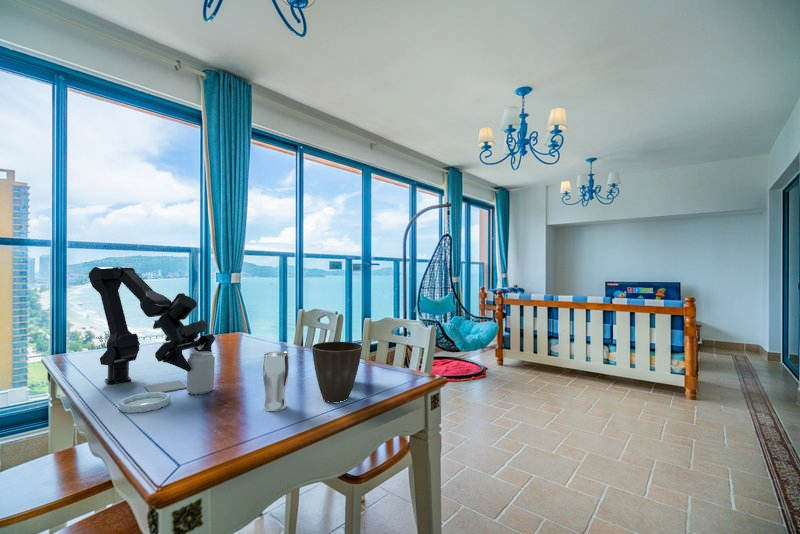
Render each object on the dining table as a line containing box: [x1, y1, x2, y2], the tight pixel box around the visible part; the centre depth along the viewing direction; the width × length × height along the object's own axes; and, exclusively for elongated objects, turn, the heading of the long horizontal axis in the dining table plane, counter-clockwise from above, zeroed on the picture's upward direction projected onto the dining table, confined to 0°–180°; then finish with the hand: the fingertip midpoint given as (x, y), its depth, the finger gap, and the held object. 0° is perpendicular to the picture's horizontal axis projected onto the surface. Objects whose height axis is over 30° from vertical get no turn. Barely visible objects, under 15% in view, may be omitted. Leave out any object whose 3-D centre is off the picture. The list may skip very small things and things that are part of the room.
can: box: [186, 351, 216, 396], centre depth 118 cm, size 8×8×12 cm
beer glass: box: [262, 351, 290, 413], centre depth 105 cm, size 7×7×15 cm
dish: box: [118, 392, 171, 414], centre depth 105 cm, size 11×11×2 cm
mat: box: [143, 380, 187, 393], centre depth 121 cm, size 10×10×1 cm
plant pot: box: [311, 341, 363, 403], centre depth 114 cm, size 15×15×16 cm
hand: (202, 367), depth 118 cm, fingers open, 9 cm apart
